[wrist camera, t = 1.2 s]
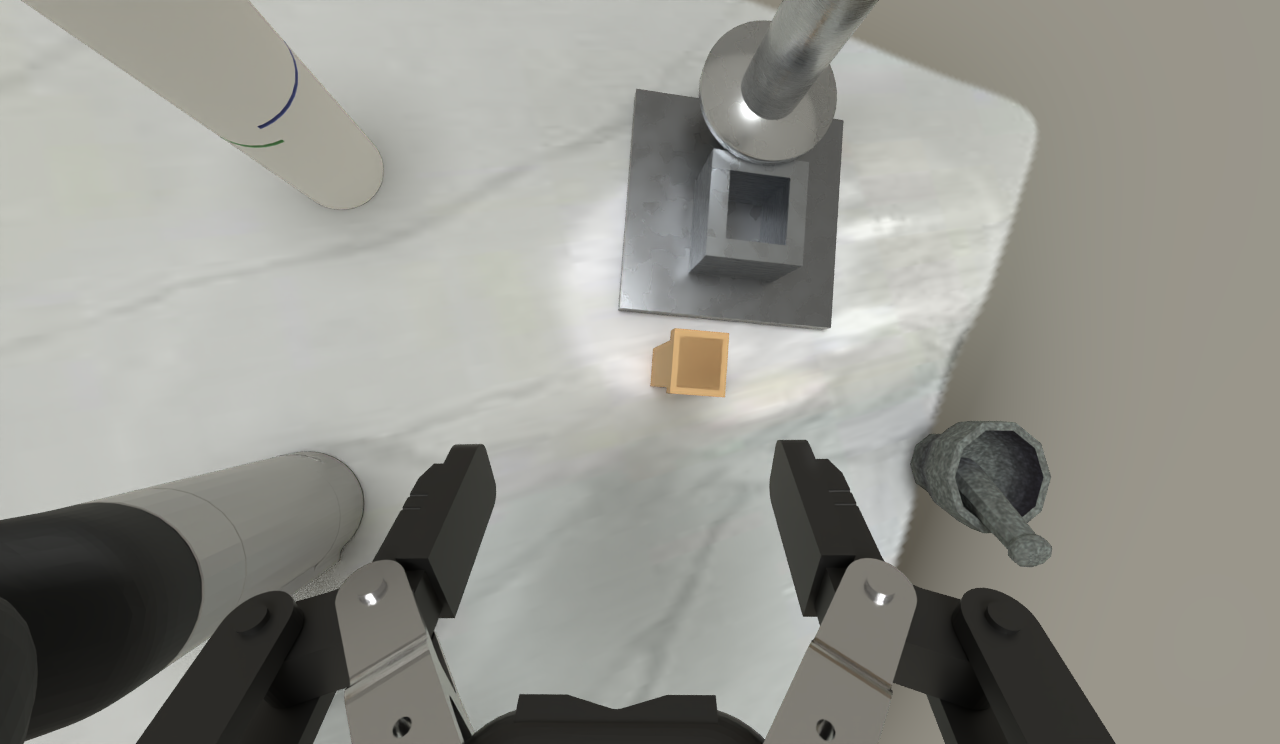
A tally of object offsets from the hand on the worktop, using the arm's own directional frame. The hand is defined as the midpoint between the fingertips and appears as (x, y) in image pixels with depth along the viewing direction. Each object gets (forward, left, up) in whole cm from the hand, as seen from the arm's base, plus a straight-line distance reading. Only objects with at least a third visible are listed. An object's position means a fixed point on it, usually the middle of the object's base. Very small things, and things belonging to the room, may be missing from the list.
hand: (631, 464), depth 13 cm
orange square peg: (+4, -6, -30) cm, 31 cm away
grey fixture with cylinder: (+20, -11, -30) cm, 38 cm away
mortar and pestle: (-4, -34, -30) cm, 46 cm away
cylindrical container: (+19, +24, -30) cm, 43 cm away
